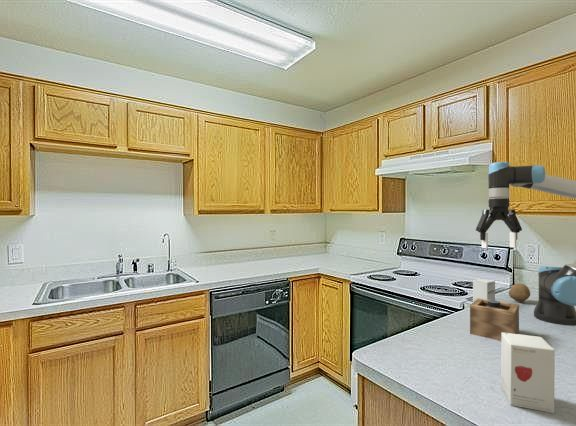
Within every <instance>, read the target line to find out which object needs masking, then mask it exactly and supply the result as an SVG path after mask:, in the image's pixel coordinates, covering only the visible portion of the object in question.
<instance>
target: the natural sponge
mask: <svg viewBox="0 0 576 426" xmlns="http://www.w3.org/2000/svg"><path fill="white" fill-rule="evenodd" d="M508 296H509V298H511V299H513V300H514V301H515V302H517V303H524V302H525V301H526V300H528V299H529V298H530V296H531V290H530V289H529V287H528V286H527V285H526V284H523V283H519V282H517V283H514V284H513V285H511V287H510V289H509V291H508Z"/></svg>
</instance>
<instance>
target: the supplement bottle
mask: <svg viewBox="0 0 576 426" xmlns="http://www.w3.org/2000/svg"><path fill="white" fill-rule="evenodd" d="M500 302H501V301H500ZM500 302H499V300H498V301H497V300H496V299H495V300H489V301H488V305H487V306H486V307H491V308H497V309H502V308H501V307H500Z"/></svg>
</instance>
